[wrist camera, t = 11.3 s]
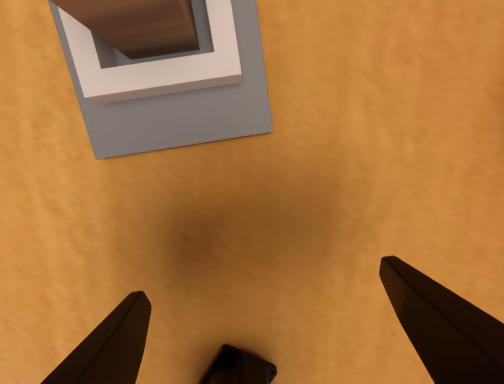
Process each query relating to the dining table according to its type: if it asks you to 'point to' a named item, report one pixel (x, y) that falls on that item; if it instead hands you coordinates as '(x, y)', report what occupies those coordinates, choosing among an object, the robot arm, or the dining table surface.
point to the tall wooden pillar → (138, 24)
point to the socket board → (171, 84)
